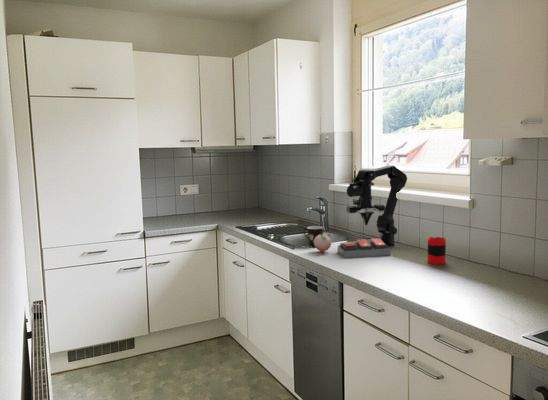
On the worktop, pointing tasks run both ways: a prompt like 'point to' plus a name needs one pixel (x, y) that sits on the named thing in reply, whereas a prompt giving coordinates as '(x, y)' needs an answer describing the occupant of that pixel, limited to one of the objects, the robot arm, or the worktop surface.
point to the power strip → (363, 250)
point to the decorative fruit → (322, 242)
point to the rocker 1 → (348, 244)
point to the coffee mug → (313, 233)
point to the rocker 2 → (377, 241)
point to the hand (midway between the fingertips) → (365, 225)
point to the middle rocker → (362, 242)
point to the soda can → (436, 249)
